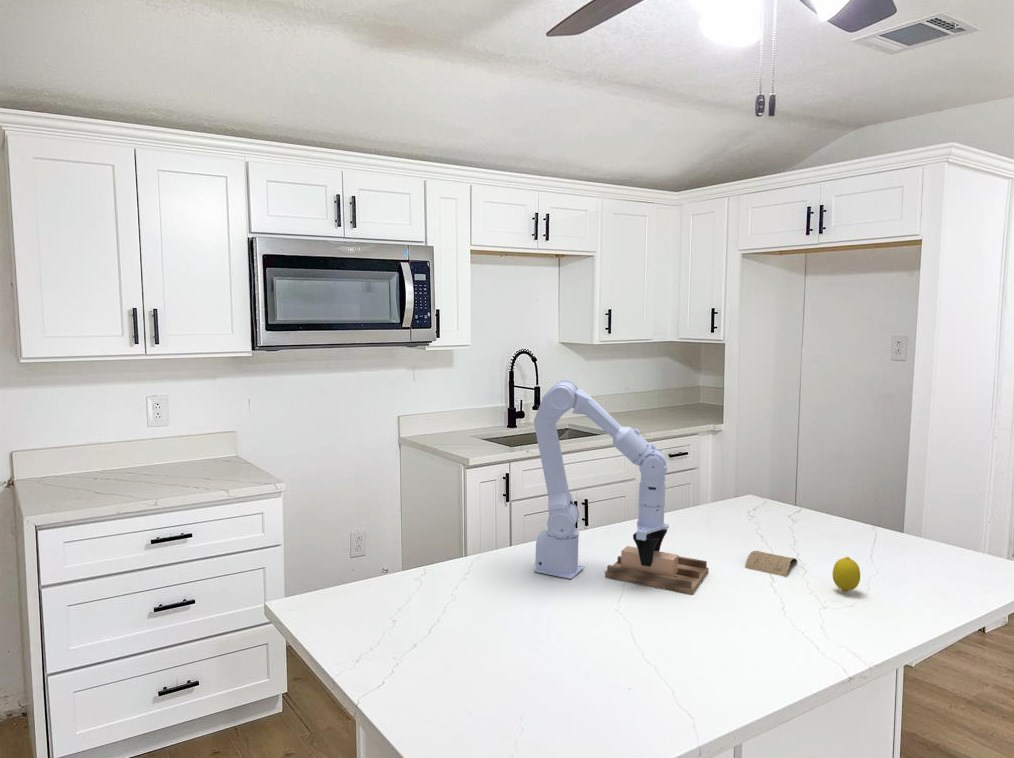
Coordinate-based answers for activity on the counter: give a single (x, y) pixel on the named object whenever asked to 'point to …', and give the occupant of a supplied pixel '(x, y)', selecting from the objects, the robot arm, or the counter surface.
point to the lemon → (846, 574)
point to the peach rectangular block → (660, 563)
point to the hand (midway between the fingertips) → (649, 562)
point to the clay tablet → (768, 563)
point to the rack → (683, 581)
